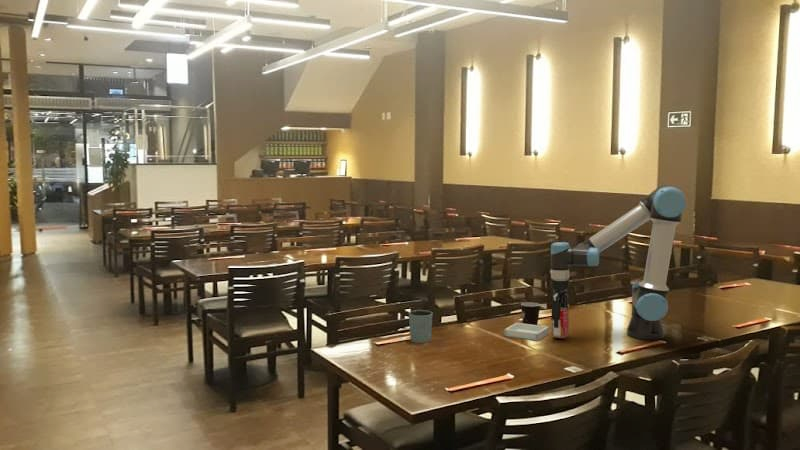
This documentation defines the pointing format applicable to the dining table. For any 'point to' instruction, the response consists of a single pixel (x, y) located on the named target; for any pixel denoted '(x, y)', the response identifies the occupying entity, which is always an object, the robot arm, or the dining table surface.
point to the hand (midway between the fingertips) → (559, 332)
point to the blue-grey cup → (420, 326)
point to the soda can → (562, 323)
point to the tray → (526, 331)
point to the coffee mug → (530, 313)
